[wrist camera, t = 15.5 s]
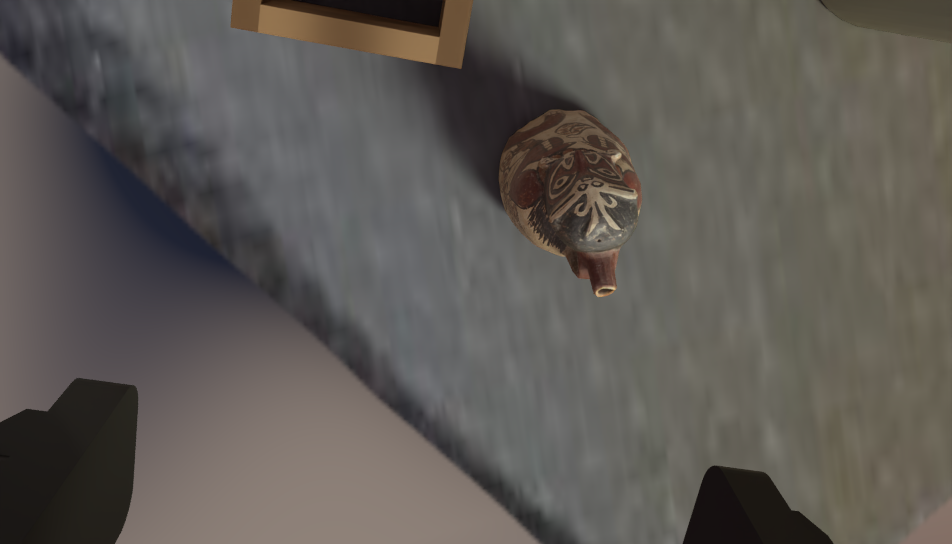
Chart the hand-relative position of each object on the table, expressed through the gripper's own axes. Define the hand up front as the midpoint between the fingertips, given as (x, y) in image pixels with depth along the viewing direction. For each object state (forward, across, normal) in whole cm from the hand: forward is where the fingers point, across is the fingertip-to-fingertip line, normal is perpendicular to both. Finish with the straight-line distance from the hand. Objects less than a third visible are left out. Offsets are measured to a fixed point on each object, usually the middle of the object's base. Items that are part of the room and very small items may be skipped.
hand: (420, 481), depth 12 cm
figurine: (+36, -8, +3) cm, 37 cm away
